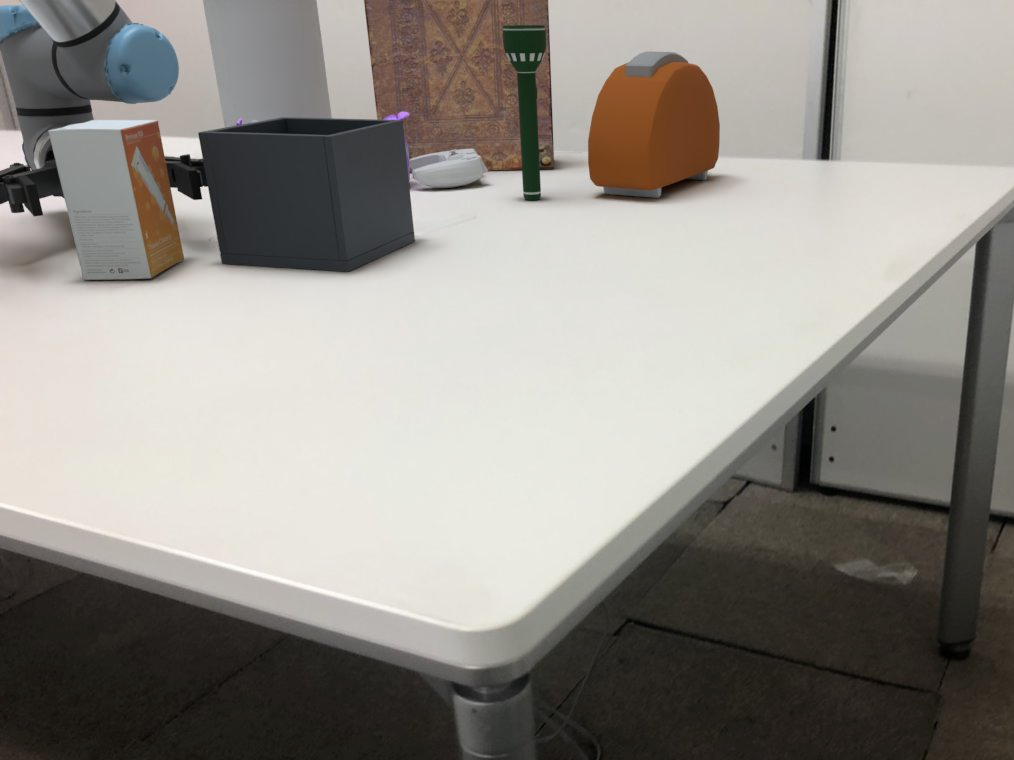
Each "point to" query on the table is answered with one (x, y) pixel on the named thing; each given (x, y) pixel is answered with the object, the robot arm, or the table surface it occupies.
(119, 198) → the small box
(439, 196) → the table surface
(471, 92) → the book
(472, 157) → the game controller
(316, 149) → the dark grey square bin
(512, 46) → the flashlight
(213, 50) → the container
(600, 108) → the orange toaster
